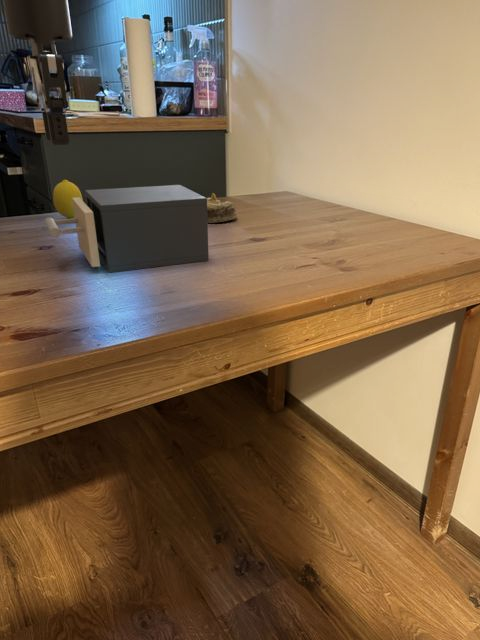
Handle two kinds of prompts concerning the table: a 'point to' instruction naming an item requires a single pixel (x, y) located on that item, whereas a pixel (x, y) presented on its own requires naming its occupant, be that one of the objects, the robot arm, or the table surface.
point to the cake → (219, 210)
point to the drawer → (83, 230)
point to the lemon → (65, 198)
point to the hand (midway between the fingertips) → (57, 141)
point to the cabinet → (151, 226)
